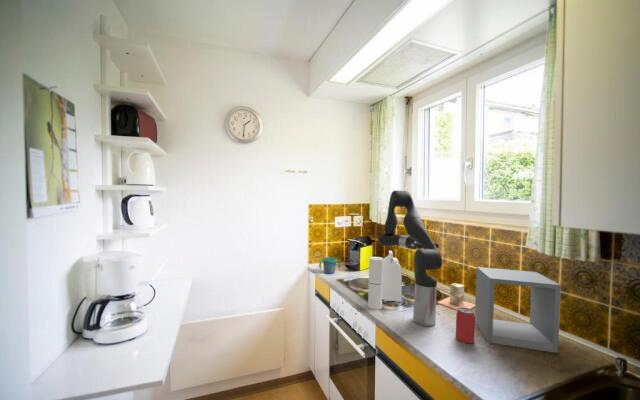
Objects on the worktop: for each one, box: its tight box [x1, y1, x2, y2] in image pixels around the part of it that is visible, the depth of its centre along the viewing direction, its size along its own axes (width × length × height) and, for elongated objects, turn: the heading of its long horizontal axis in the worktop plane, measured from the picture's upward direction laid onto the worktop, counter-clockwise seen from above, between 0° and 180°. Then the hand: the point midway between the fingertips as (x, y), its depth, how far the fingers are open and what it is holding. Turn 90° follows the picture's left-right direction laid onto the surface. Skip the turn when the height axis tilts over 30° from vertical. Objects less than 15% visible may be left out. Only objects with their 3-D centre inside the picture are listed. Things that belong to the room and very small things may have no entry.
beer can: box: [455, 307, 476, 344], centre depth 106 cm, size 7×7×12 cm
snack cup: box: [318, 256, 341, 275], centre depth 193 cm, size 16×10×10 cm
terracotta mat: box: [436, 296, 475, 311], centre depth 141 cm, size 14×14×1 cm
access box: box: [474, 266, 562, 354], centre depth 110 cm, size 18×23×26 cm
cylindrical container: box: [367, 256, 384, 310], centre depth 136 cm, size 7×7×25 cm
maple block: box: [449, 282, 465, 306], centre depth 141 cm, size 5×5×10 cm
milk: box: [382, 250, 403, 302], centre depth 148 cm, size 12×12×26 cm
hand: (434, 246), depth 144 cm, fingers open, 8 cm apart
